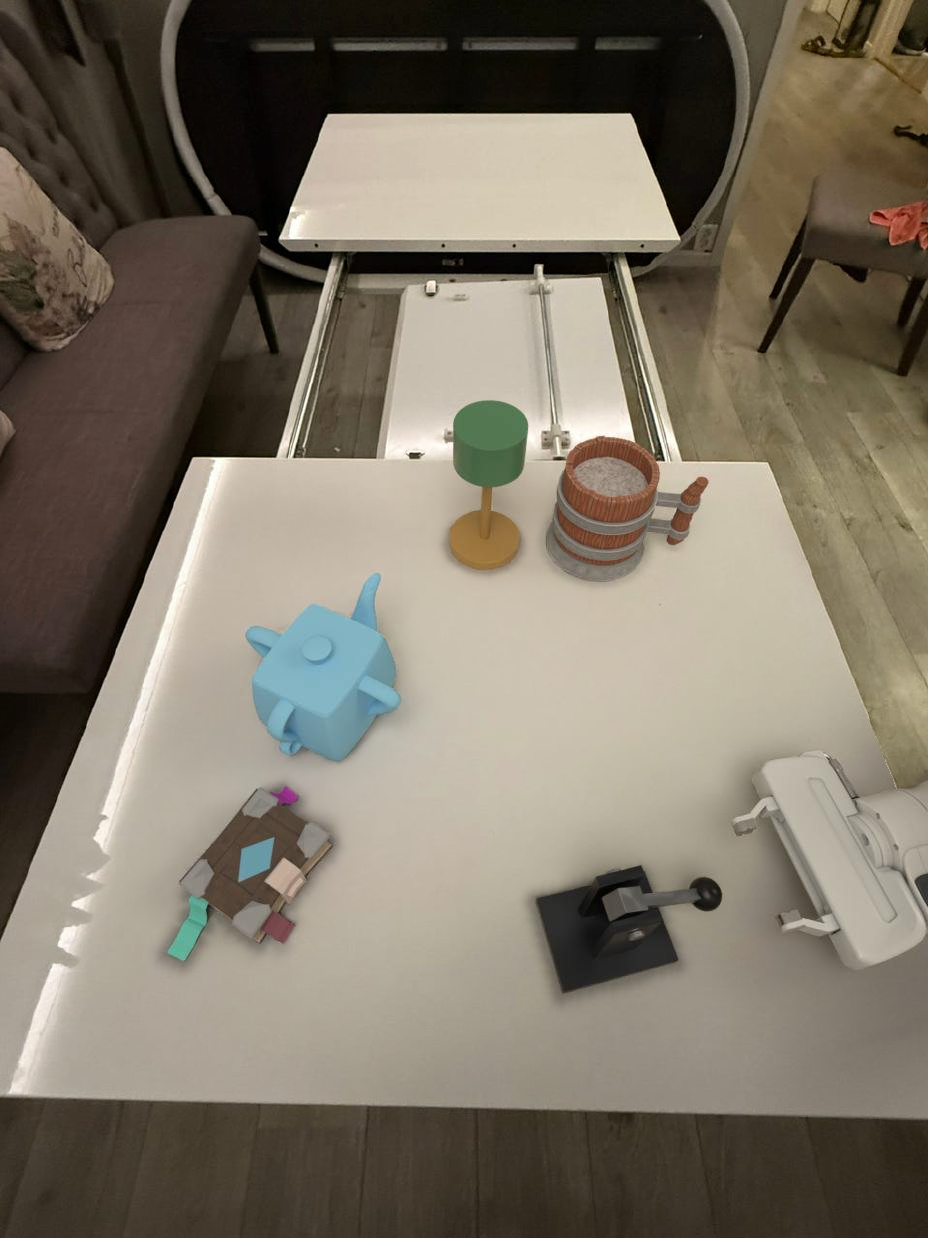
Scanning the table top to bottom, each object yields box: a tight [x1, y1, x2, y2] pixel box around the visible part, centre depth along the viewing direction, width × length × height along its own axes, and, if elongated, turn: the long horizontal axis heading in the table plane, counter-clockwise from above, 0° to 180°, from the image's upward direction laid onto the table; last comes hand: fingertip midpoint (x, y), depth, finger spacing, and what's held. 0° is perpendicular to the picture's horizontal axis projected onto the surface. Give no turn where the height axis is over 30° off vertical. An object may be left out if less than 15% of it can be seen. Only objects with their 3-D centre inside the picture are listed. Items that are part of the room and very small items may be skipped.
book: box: [166, 785, 333, 962], centre depth 75 cm, size 20×12×5 cm, turn 148°
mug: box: [545, 435, 710, 582], centre depth 99 cm, size 14×19×15 cm
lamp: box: [448, 399, 529, 571], centre depth 96 cm, size 10×10×22 cm
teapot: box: [245, 572, 402, 763], centre depth 84 cm, size 18×16×14 cm
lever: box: [602, 876, 723, 922], centre depth 69 cm, size 14×3×3 cm, turn 104°
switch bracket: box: [535, 864, 679, 995], centre depth 70 cm, size 12×9×13 cm
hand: (756, 873), depth 71 cm, fingers open, 8 cm apart
